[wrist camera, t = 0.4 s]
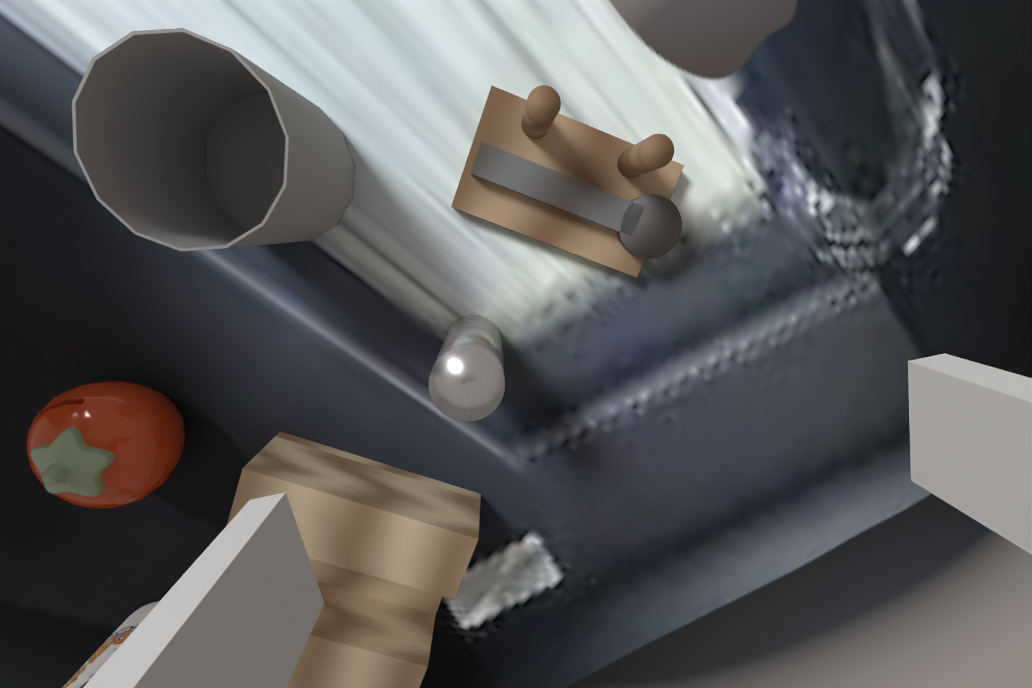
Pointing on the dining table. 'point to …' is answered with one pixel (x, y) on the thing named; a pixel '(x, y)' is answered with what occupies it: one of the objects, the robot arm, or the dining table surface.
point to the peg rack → (570, 182)
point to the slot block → (367, 557)
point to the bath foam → (109, 647)
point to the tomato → (105, 443)
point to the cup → (206, 146)
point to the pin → (469, 370)
